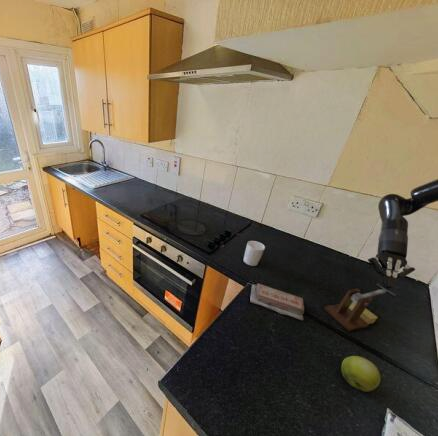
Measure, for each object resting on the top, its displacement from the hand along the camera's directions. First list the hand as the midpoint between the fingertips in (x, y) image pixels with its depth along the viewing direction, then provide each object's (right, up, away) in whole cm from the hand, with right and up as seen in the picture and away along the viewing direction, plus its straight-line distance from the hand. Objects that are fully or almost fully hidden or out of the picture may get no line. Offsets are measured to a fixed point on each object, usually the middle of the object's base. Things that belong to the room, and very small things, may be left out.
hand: (388, 287), depth 82 cm
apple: (-29, -22, -17) cm, 40 cm away
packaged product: (-37, -9, +7) cm, 39 cm away
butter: (-6, -12, +5) cm, 14 cm away
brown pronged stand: (-13, -12, +3) cm, 18 cm away
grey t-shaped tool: (-7, -3, 0) cm, 7 cm away
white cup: (-36, +3, +31) cm, 47 cm away
